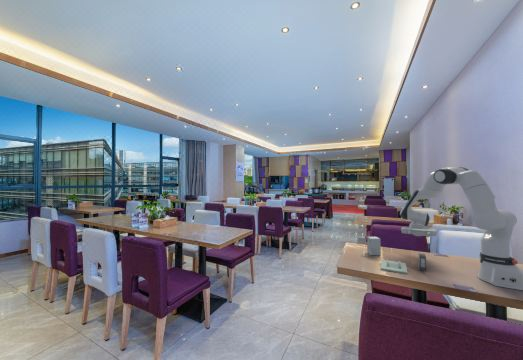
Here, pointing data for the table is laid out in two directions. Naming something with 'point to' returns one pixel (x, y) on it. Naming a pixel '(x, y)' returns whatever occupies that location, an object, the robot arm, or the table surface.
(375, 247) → the supplement box
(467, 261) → the table surface
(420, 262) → the drive
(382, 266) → the pin tray
